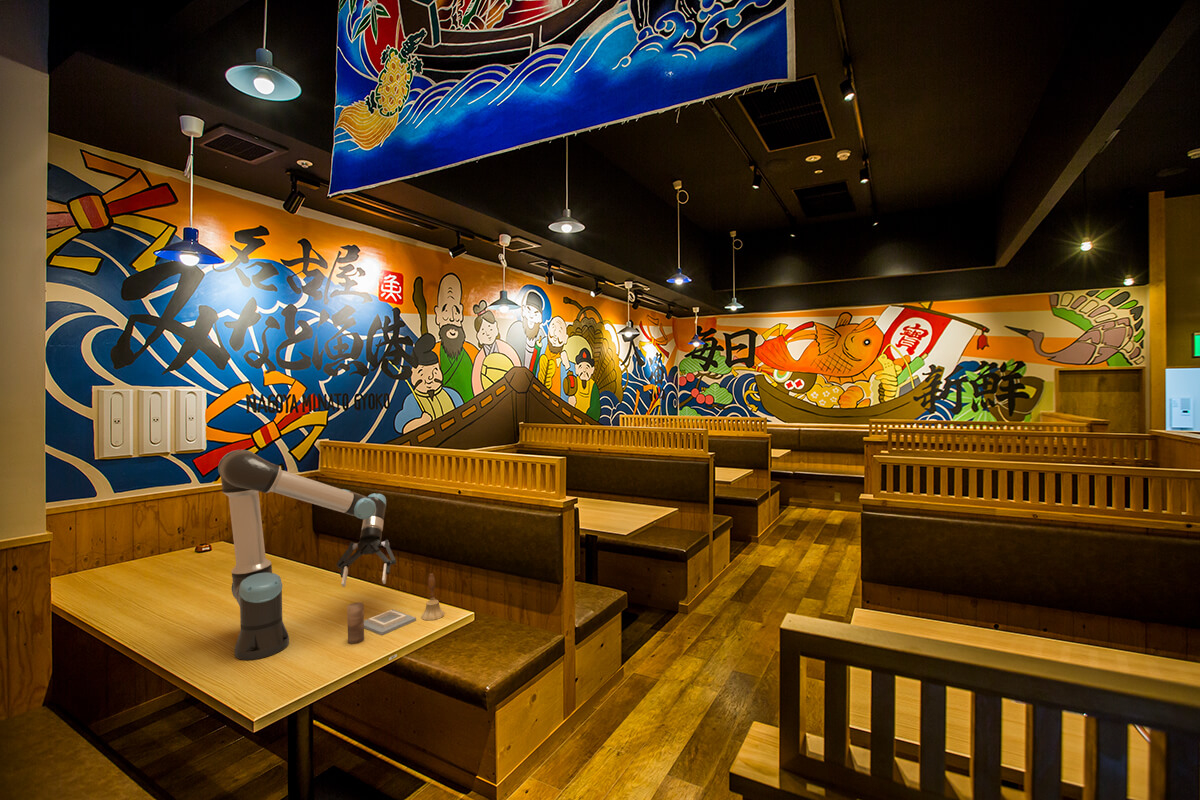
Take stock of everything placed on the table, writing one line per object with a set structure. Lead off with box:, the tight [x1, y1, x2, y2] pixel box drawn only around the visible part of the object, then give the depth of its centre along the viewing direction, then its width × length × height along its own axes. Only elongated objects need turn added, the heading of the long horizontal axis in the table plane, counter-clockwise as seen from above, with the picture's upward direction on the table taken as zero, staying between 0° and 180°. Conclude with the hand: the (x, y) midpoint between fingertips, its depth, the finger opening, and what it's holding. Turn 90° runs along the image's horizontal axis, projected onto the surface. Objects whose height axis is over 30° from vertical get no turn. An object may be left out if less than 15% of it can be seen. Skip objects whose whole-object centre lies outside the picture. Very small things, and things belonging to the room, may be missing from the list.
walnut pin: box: [346, 602, 365, 645], centre depth 179 cm, size 5×5×12 cm
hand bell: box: [421, 573, 445, 621], centre depth 198 cm, size 8×8×16 cm
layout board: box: [364, 609, 417, 636], centre depth 192 cm, size 14×14×2 cm
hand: (363, 583), depth 190 cm, fingers open, 13 cm apart
